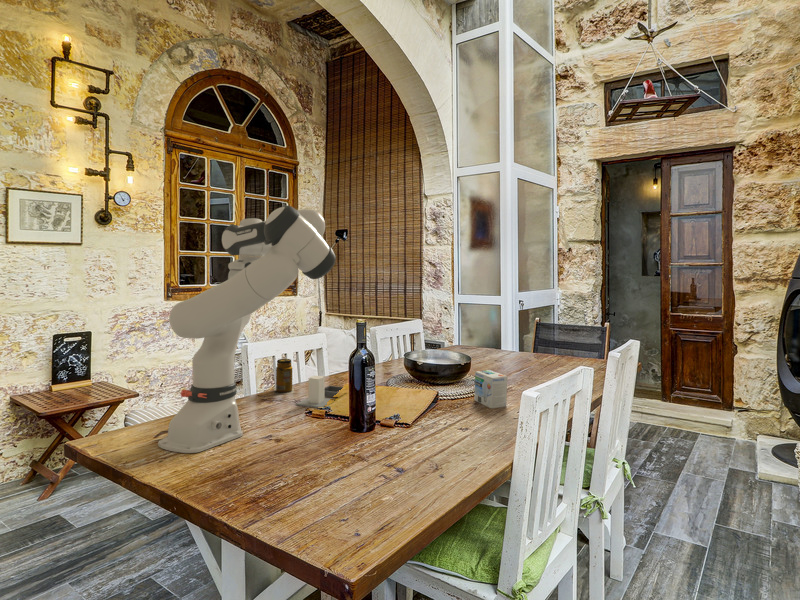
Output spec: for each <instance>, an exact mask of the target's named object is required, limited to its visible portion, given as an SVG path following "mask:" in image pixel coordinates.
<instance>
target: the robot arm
mask: <svg viewBox="0 0 800 600" xmlns="http://www.w3.org/2000/svg"><path fill="white" fill-rule="evenodd" d="M325 231H326V222H325V218H324V217H323V216H322V214H321V213H319V212H318V211H316V210H314V209H308V208H306V209H297V208H295V207H293V206H291V205H282V206H281V207H278V208H276V209H274V210H273V211H272V212H271V213H270V214H269V215H268V216H267V219H266V220H264V221H263V220H262V219H260V218H257V217H249V218H247V217H245V218H243V219H241V220H240V222H239V225H237V224H230V225H228V226H227V227H226V228H225V229H224V230H223V232H222V234H221V245H222V248H223V249H224V251H225V252H226V253H228V254H229V255H230V256H238V258H237V259H235V260H233V261H231V262H229V263H228V266H227V268H228V269H229V272H228V274H227V275H228V276H227V280H225V281H223V282H220V283H219V284H217V285H214V286H212V287H210V288H208V289H206V290H204V291H202V292H200V293H199V294H197V295H195V296H193V297H190V298H188V299H185V300H183V301H180V302H178V303H176V304H175V305H173V307H172V308H171V310H170V314H169V325H170V328H171V330H172V331H173V333H174V334H175V335H176V336H178V337H179V338H184V339H194V340H195V339H196V340H197V339H203V341H202V343H201V346H199V347H200V348H199V349H198V350H197V351H196V352H195V354H193V357H192V360H191V361H192V362H191V363H192V364H191V365H192V366H191V367H192V384H191V386H190V389H184V388H183V389H181V391H180V396H181V397H182V398H187V401H186V402H185V404H183V406H182V407H181V408H180V409H179V411H178V412H177V413H176V414H175V415H174V416H173V417H172V418H171V420H169V421H170V422H169V425H168V429H167V436H165V437H164V438H162V439H160V440H159V441H158V443H157V445H158V447H159V448H161V449H163V450H166V451H171V452H175V453H184V454H192V453H193V454H194V453H200V452H203V451H206V450H208V449H212V448H214V447H217V446H219V445H221V444H226V443H228V442H229V441H232V440H236V439H238V438H241V437H243V436H244V433H243V432H244V431H243V430H242V427H241V424H240V416H239V415H240V414H239V407H238V406H239V405H238V404H237V399H236V395H237V389H238V387H237V382H236V381H235V357H236V350H237V348H238V343H239V340H240V337H241V335H242V332H243V330H244V328H245V327H246V326H247V325H248V323H249V322H250V320H251V315H252V314H254V313H255V312H257V311H259V309H261V308H263V307H264V306H265V305H267V304H268V303H269V302H271V301H273V300H274V299H276V298H277V297H278V296H280V295H281V294H282V293H283V292H284V291H286V290H287V289H288V288H289V287H290V286H291V285H292V284H293V283H294V282H295V281H296V279H297V278H298V276H299V270H300V271H301V272H302V274H303V275H304V276H306V277H308V278H309V279H311V280H319V279H320V278H323V277H325V276H326V275H327V274H329V272H331V270H332V269H333V267H334V266H335V264H336V259H337V258H336V254H335V252H334V250H333V248H332V246H330V244H329V243H327V242H326V240H325V239H324V238H323V235H324V234H325Z"/></svg>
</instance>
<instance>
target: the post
mask: <svg viewBox="0 0 800 600" xmlns="http://www.w3.org/2000/svg"><path fill="white" fill-rule="evenodd" d="M325 381H326V379H325V376H322V375H312V376H310V377H308V398H309V402H311V403H318V404H319V403H321V402H323V401H325V398H326V397H325V385H326V384H325V383H326V382H325Z"/></svg>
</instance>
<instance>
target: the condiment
mask: <svg viewBox="0 0 800 600" xmlns="http://www.w3.org/2000/svg"><path fill="white" fill-rule="evenodd" d="M276 363H277V364H276V367H275V387H274V389H273V395H294V394H295V391H294V390H295V389H294V387H293V366H292V359H291V358H279V359H277V361H276Z"/></svg>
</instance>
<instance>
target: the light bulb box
mask: <svg viewBox="0 0 800 600" xmlns="http://www.w3.org/2000/svg"><path fill="white" fill-rule="evenodd" d="M507 394H508V376H507V375H504V374H502V373H500V372H496V371H493V370H491V369H486V370H478V371H475V372H474V398H473V401H475V402H477V403H479V404H481V405H483V406H485V407H487V408H489V409H497V408H499V409H500V408H505V407H507V396H508V395H507Z"/></svg>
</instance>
